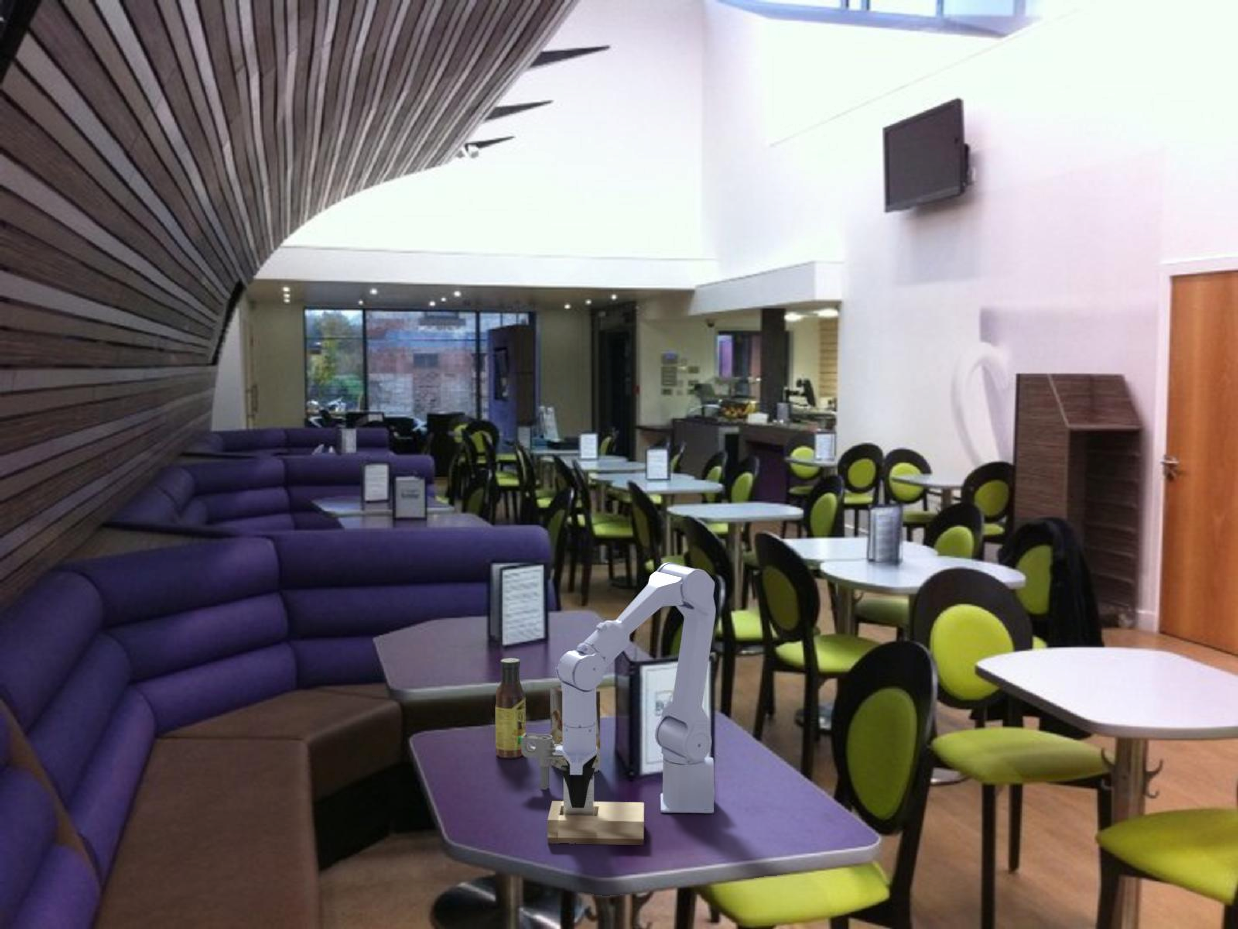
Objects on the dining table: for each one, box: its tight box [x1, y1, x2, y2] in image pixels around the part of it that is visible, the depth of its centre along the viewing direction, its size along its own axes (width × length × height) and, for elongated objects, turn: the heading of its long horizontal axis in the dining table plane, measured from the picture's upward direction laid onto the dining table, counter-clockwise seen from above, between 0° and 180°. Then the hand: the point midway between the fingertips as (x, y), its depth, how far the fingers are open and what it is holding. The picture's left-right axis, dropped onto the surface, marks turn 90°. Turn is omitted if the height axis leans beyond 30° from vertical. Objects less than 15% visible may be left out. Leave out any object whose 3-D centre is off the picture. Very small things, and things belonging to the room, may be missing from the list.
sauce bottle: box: [494, 657, 527, 759], centre depth 214 cm, size 6×6×20 cm
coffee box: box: [549, 684, 601, 773], centre depth 206 cm, size 9×6×16 cm
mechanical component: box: [518, 732, 564, 791], centre depth 196 cm, size 3×10×10 cm, turn 79°
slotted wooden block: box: [547, 800, 645, 846], centre depth 176 cm, size 16×8×4 cm, turn 88°
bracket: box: [563, 773, 595, 816], centre depth 176 cm, size 5×2×9 cm, turn 88°
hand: (579, 801), depth 176 cm, fingers open, 5 cm apart
